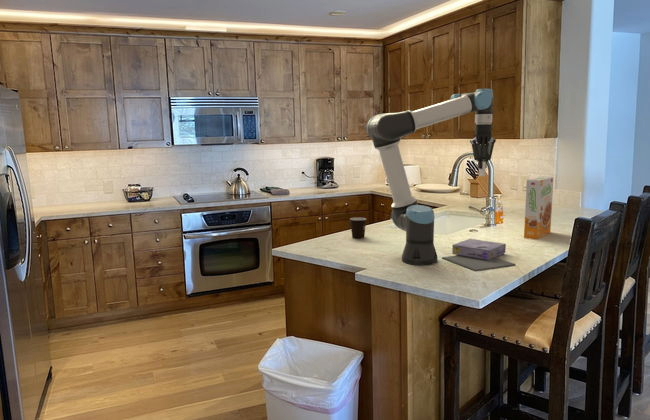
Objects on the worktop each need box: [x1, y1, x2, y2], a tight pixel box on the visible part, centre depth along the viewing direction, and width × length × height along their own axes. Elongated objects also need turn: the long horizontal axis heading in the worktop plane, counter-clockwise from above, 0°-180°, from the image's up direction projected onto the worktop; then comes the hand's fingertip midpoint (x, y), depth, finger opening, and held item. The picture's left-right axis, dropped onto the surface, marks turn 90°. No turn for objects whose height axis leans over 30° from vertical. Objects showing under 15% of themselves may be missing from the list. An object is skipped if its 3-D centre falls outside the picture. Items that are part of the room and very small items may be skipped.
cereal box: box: [523, 175, 554, 240], centre depth 262 cm, size 22×6×30 cm, turn 139°
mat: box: [441, 255, 516, 272], centre depth 213 cm, size 20×22×1 cm
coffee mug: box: [349, 217, 367, 240], centre depth 265 cm, size 12×9×10 cm
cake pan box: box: [451, 238, 507, 260], centre depth 224 cm, size 19×5×18 cm
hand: (482, 175), depth 231 cm, fingers closed
